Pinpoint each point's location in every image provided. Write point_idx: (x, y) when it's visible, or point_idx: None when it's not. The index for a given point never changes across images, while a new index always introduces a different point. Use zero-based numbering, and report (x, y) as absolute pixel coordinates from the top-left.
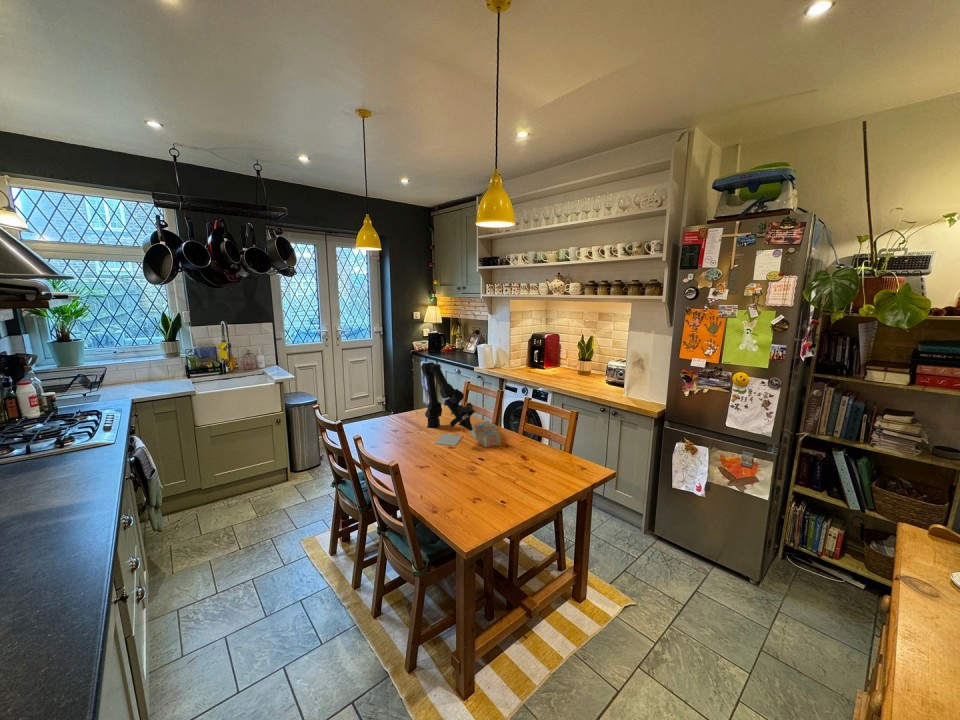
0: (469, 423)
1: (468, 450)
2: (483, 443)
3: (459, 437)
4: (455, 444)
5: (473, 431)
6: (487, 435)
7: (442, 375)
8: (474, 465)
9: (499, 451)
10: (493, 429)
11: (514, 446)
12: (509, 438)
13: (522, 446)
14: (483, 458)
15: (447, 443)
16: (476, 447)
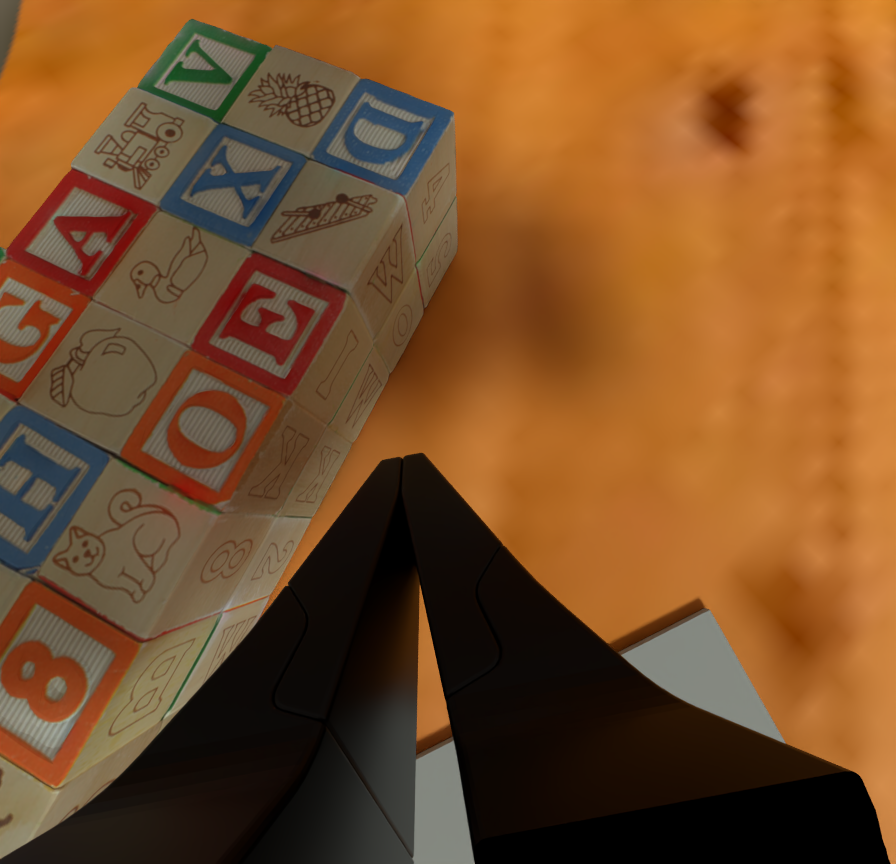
0: (370, 602)
1: (670, 360)
2: (428, 281)
3: (421, 804)
4: (685, 639)
5: (204, 634)
6: (368, 135)
7: None
8: (891, 76)
9: (434, 93)
10: (32, 229)
11: None
12: None
13: (178, 9)
14: (696, 107)
15: None
16: (525, 342)
